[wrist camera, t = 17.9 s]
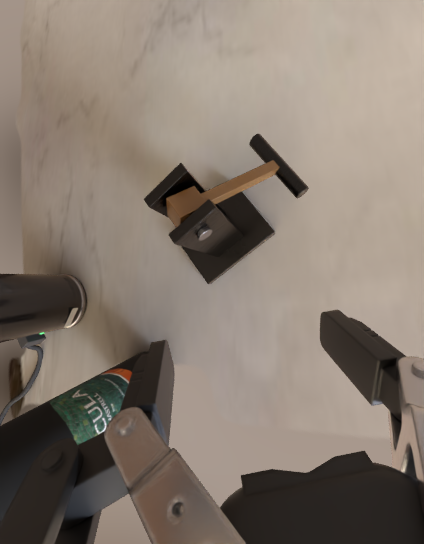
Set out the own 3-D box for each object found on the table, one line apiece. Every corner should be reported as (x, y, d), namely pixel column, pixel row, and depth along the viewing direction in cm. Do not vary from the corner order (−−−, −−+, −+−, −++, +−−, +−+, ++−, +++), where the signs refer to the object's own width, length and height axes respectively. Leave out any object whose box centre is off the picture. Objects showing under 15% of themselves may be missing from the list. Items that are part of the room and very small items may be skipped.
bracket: (234, 184, 31) (197, 114, 18) (275, 233, 29) (267, 197, 16) (176, 235, 33) (106, 207, 20) (210, 283, 32) (158, 288, 19)
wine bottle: (123, 356, 36) (-508, 665, 7) (163, 347, 34) (-509, 734, 5) (134, 404, 35) (-532, 970, 6) (176, 398, 33) (-546, 1209, 4)
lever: (255, 147, 26) (263, 127, 23) (301, 198, 24) (314, 182, 22) (150, 192, 21) (148, 173, 19) (197, 258, 20) (200, 245, 18)
